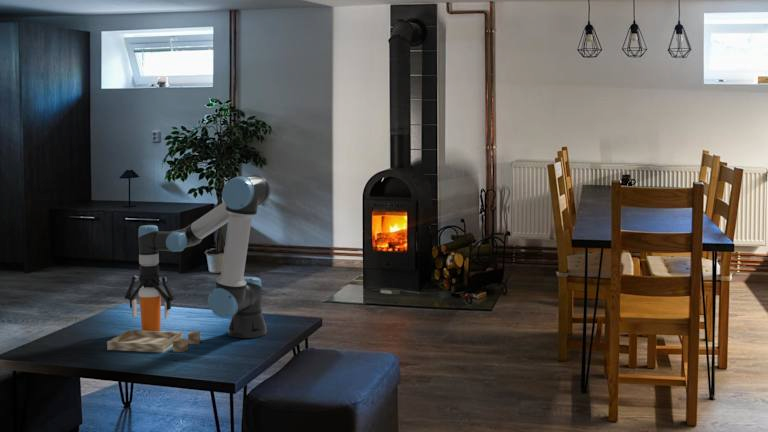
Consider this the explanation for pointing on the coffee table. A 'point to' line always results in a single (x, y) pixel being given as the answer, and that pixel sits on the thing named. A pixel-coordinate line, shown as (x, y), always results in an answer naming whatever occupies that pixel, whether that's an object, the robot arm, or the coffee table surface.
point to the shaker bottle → (150, 308)
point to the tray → (143, 341)
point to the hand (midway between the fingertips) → (150, 316)
